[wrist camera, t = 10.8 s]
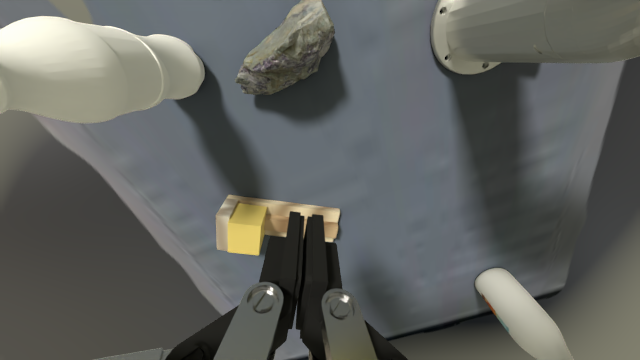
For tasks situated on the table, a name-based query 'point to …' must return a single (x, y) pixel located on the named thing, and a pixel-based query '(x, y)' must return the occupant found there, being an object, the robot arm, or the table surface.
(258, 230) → the block
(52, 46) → the white bottle
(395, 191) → the table surface
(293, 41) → the mineral rock
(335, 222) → the rail
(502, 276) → the milk bottle
